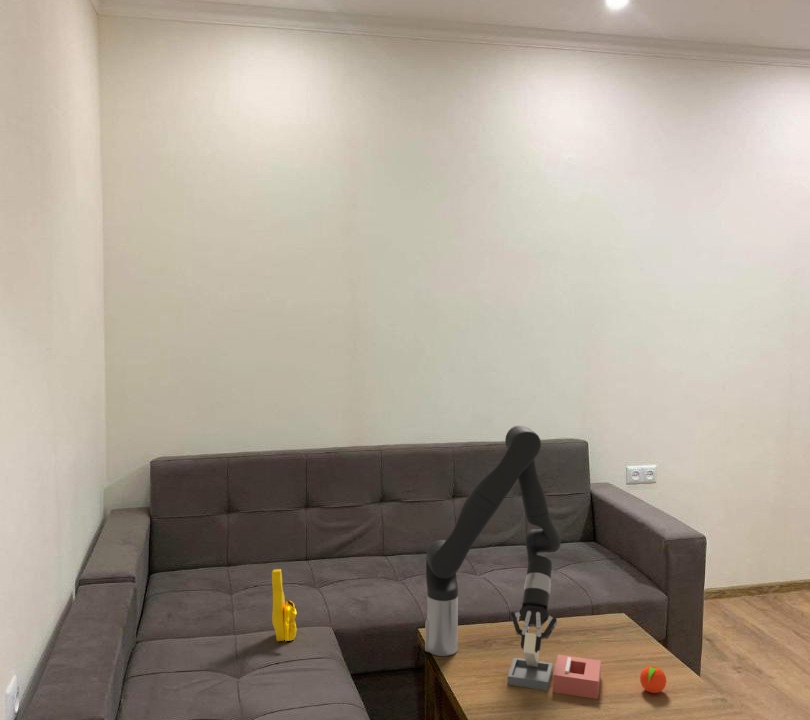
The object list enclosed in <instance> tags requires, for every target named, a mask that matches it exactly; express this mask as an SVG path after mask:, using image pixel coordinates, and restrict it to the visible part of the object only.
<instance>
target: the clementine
mask: <svg viewBox="0 0 810 720" xmlns="http://www.w3.org/2000/svg"><path fill="white" fill-rule="evenodd" d="M639 679H640V680H639V681H640V684H641V686H642V688H643V689H644V690H645V691H646V692H648V693H651V694H657V693H661V692H663V690H664V689H665V688H666V685H667V677H666V674H665V672H664V671H663V670H662V669H661V668H660V667H658V666H656V665H649V666H646V667H645V668H643V669H642V670H641V672H640V675H639Z"/></svg>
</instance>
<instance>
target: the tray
mask: <svg viewBox="0 0 810 720" xmlns="http://www.w3.org/2000/svg"><path fill="white" fill-rule="evenodd" d="M511 662H512V663H511V665H510V668H509V671H508V675H507V685H510V686H515V687H523V688H527V689H536V690H543V691H549V688H550V683H551V679H552V675H553V672H554V671H553V670H554V669H553V668H554V667H553V665H554V663H553V662H547V661H541V660H540V661H539V660H538V667H535V666H528V665H527V663H526V660H525V658H519V657H513V659H512V661H511Z"/></svg>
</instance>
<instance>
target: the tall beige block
mask: <svg viewBox="0 0 810 720" xmlns="http://www.w3.org/2000/svg"><path fill="white" fill-rule="evenodd" d="M536 637H537V633H533V632H532V633H531V632H528V633H526V632H525V641H524V650H523V649H522V651H523V652H522V653H523V656H524V659H525V660H526V663H527V665H528V666H535V667H538V661H539V657H540V651H538V653H536V652H535V647H536Z"/></svg>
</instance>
